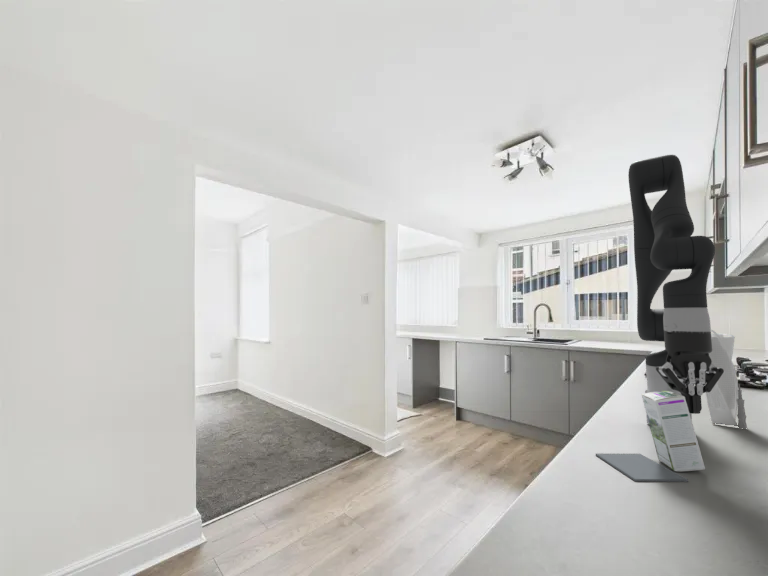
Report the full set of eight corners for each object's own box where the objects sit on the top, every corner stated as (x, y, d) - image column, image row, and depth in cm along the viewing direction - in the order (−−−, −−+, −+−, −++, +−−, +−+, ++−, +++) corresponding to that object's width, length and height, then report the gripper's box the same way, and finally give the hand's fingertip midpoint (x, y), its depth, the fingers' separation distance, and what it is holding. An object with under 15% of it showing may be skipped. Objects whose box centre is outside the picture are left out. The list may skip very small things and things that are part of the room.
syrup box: (707, 469, 67) (687, 395, 69) (673, 472, 68) (654, 399, 70) (687, 458, 73) (669, 389, 74) (656, 460, 74) (639, 393, 75)
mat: (595, 455, 76) (595, 453, 76) (640, 455, 76) (640, 453, 76) (635, 481, 64) (635, 479, 64) (687, 481, 64) (687, 479, 64)
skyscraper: (706, 425, 99) (699, 328, 101) (702, 418, 105) (696, 327, 107) (748, 431, 94) (740, 329, 96) (741, 423, 100) (734, 328, 102)
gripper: (700, 328, 76) (706, 408, 75) (642, 328, 76) (646, 407, 75) (735, 330, 69) (742, 418, 67) (670, 329, 69) (676, 418, 67)
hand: (692, 412), depth 71 cm, fingers closed
